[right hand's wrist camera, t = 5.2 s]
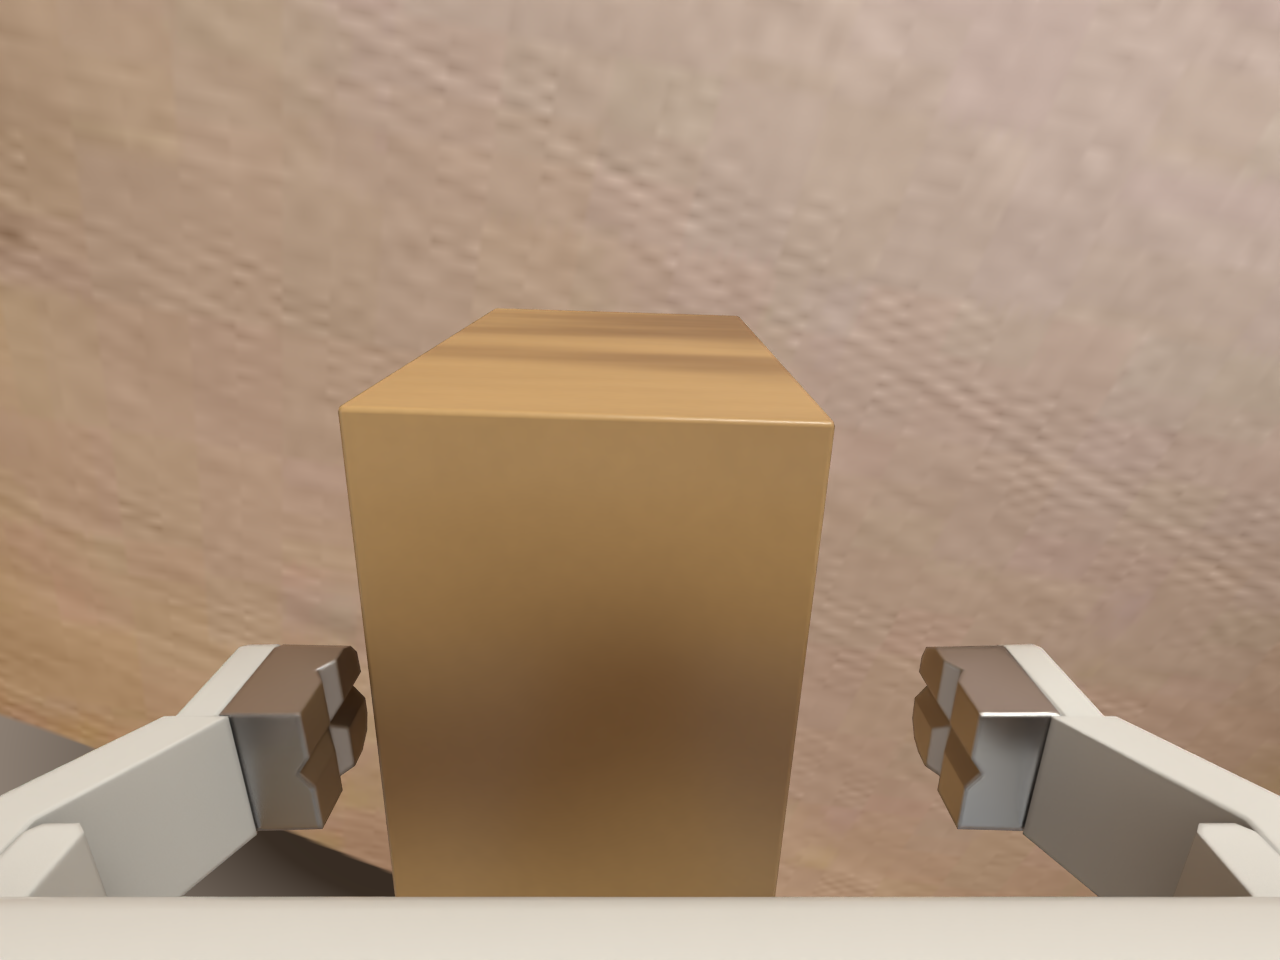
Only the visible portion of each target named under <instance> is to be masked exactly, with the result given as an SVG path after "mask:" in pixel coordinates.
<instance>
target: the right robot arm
mask: <svg viewBox="0 0 1280 960" xmlns="http://www.w3.org/2000/svg"><path fill="white" fill-rule="evenodd" d="M360 672H361V670H360V665H359V660H358V655H357V652H356V651H355V650H354V649H353V648H352V647H351V646H330V645H279V644H249V645H245V646H241V647H239V648H238V649H237V650H236V651H235V652H234V653H233V654H232V655H231V656H230V658H229V659H228V660H227V661H226V662H225V663H224V664H223V665H222V666H221V667H220V668H219V670H218V671H217V672H216V673H215V674H214V675H213V676H212V677H211V678H210V679H209V680H208V682H207V683H206V684H205V685H204V686H203V687H202V688H201V689H200V690H199V691H198V692H197V694H196V695H195V696H194V697H193V698H192V699H191V700H190V701H189V702H188V703H187V704H186V706H185V707H184V708H183V709H182V710H181V711H180V712H179V713H178V714H177V715H176V716H163V717H161V718H159V719H157V720H155V721H153V722H151V723H149V724H147V725H145V726H143V727H141V728H139V729H137V730H135V731H132V732H130V733H128V734H126V735H124V736H122V737H120V738H118V739H116V740H114V741H112V742H110V743H108V744H106V745H104V746H102V747H100V748H97V749H95V750H93V751H91V752H89V753H87V754H85V755H83V756H81V757H79V758H77V759H75V760H73V761H71V762H69V763H67V764H65V765H63V766H60V767H58V768H56V769H54V770H52V771H50V772H48V773H46V774H44V775H42V776H40V777H38V778H36V779H34V780H32V781H30V782H28V783H25V784H23V785H21V786H19V787H17V788H15V789H13V790H11V791H9V792H7V793H5V794H3V795H1V796H0V960H1280V796H1279V795H1277V794H1275V793H1273V792H1271V791H1269V790H1266V789H1264V788H1262V787H1260V786H1258V785H1256V784H1254V783H1252V782H1250V781H1248V780H1246V779H1244V778H1242V777H1240V776H1238V775H1236V774H1234V773H1232V772H1230V771H1227V770H1225V769H1223V768H1221V767H1219V766H1217V765H1215V764H1213V763H1211V762H1209V761H1207V760H1205V759H1203V758H1201V757H1199V756H1197V755H1195V754H1193V753H1191V752H1188V751H1186V750H1184V749H1182V748H1180V747H1178V746H1176V745H1174V744H1172V743H1170V742H1168V741H1166V740H1164V739H1162V738H1160V737H1158V736H1156V735H1154V734H1152V733H1149V732H1147V731H1145V730H1143V729H1141V728H1139V727H1137V726H1135V725H1133V724H1131V723H1129V722H1127V721H1125V720H1123V719H1121V718H1119V717H1117V716H1104V715H1103V714H1102V713H1101V712H1100V711H1099V710H1098V709H1097V708H1096V707H1095V706H1094V704H1093V703H1092V702H1091V701H1090V700H1089V699H1088V698H1087V697H1086V696H1085V695H1084V694H1083V692H1082V691H1081V690H1080V689H1079V688H1078V687H1077V686H1076V685H1075V684H1074V683H1073V682H1072V680H1071V679H1070V678H1069V677H1068V676H1067V675H1066V674H1065V673H1064V672H1063V671H1062V669H1061V668H1060V667H1059V666H1058V665H1057V664H1056V663H1055V662H1054V661H1053V660H1052V659H1051V657H1050V656H1049V655H1048V654H1047V653H1046V652H1045V651H1044V650H1043V649H1042V648H1041V647H1039V646H1036V645H1034V644H1014V645H997V646H952V647H926V649H925V651H924V653H923V655H922V658H921V664H920V669H919V672H920V674H921V676H922V678H923V679H924V681H925V683H926V684H927V686H926V687H925V688H924V689H923V690H922V691H921V692H920V693H919V694H918V695H917V696H916V697H915V701H914V709H913V717H912V720H913V731H914V739H915V742H916V746H917V749H918V752H919V754H920V756H921V758H922V760H923V763H924V765H925V766H926V767H928V768H929V769H931V770H932V771H933V772H935V773H936V774H938V775H939V776H940V778H939V784H938V792H939V794H940V796H941V798H942V800H943V802H944V804H945V806H946V808H947V810H948V811H949V813H950V815H951V817H952V819H953V821H954V823H955V825H956V827H957V829H976V830H1012V831H1023V834H1024V835H1025V836H1026V837H1027V838H1029V839H1030V840H1031V841H1032V842H1033V843H1035V844H1036V845H1037V846H1038V847H1039V848H1041V849H1042V850H1043V851H1044V852H1045V853H1047V854H1048V855H1049V856H1050V857H1051V858H1053V859H1054V860H1055V861H1056V862H1058V863H1059V864H1060V865H1061V866H1062V867H1064V868H1065V869H1066V870H1067V871H1068V872H1070V873H1071V874H1072V875H1073V876H1074V877H1076V878H1077V879H1078V880H1079V881H1080V882H1082V883H1083V884H1084V885H1085V886H1087V887H1088V888H1089V889H1090V890H1091V891H1093V892H1094V893H1095V894H1096V895H1097V896H1099V897H182V896H183V895H184V894H185V893H186V892H188V891H189V890H190V889H191V888H192V887H194V886H195V885H196V884H197V883H199V882H200V881H201V880H202V879H203V878H205V877H206V876H207V875H208V874H209V873H211V872H212V871H213V870H214V869H215V868H217V867H218V866H219V865H220V864H222V863H223V862H224V861H225V860H226V859H227V858H229V857H230V856H231V855H232V854H234V853H235V852H236V851H237V850H238V849H240V848H241V847H242V846H243V845H245V844H246V843H247V842H248V841H249V840H251V839H252V838H253V837H254V836H255V835H257V832H256V831H268V830H303V829H323V827H324V825H325V823H326V821H327V819H328V817H329V815H330V814H331V812H332V810H333V808H334V806H335V804H336V802H337V800H338V798H339V796H340V794H341V792H342V784H341V778H340V776H341V775H342V774H344V773H345V772H347V771H348V770H349V769H351V768H352V767H354V766H355V765H356V762H357V760H358V758H359V756H360V754H361V752H362V750H363V746H364V741H365V737H366V732H367V707H366V700H365V697H364V696H363V695H362V694H361V693H360V692H359V691H358V690H357V689H356V688H355V687H354V686H353V684H354V683H355V681H356V679H357V678H358V676H359V674H360Z"/></svg>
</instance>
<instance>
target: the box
mask: <svg viewBox="0 0 1280 960" xmlns="http://www.w3.org/2000/svg"><path fill="white" fill-rule="evenodd" d="M338 414H339V422H340V431H341V439H342V448H343V456H344V465H345V473H346V482H347V490H348V499H349V507H350V516H351V524H352V533H353V541H354V550H355V558H356V567H357V575H358V584H359V592H360V601H361V609H362V618H363V626H364V635H365V643H366V652H367V660H368V669H369V677H370V686H371V694H372V703H373V711H374V720H375V728H376V737H377V746H378V754H379V763H380V771H381V780H382V788H383V797H384V805H385V814H386V822H387V831H388V839H389V848H390V856H391V865H392V873H393V882H394V890H395V897H775V893H776V885H777V877H778V869H779V861H780V854H781V846H782V838H783V830H784V822H785V814H786V806H787V799H788V791H789V783H790V775H791V767H792V759H793V751H794V743H795V736H796V728H797V720H798V712H799V704H800V696H801V688H802V681H803V673H804V665H805V657H806V649H807V641H808V633H809V626H810V618H811V610H812V602H813V594H814V586H815V578H816V571H817V563H818V555H819V547H820V539H821V531H822V523H823V515H824V508H825V500H826V492H827V484H828V476H829V468H830V460H831V453H832V445H833V437H834V429H835V426H834V422H833V421H832V420H831V419H830V418H829V416H828V415H827V414H826V413H825V412H824V411H823V410H822V409H821V408H820V406H819V405H818V404H817V403H816V402H815V401H814V400H813V399H812V398H811V396H810V395H809V394H808V393H807V392H806V391H805V390H804V389H803V388H802V386H801V385H800V384H799V383H798V382H797V381H796V380H795V379H794V378H793V376H792V375H791V374H790V373H789V372H788V371H787V370H786V369H785V367H784V366H783V365H782V364H781V363H780V362H779V361H778V360H777V359H776V357H775V356H774V355H773V354H772V353H771V352H770V351H769V350H768V349H767V347H766V346H765V345H764V344H763V343H762V342H761V341H760V340H759V339H758V337H757V336H756V335H755V334H754V333H753V332H752V331H751V330H750V329H749V327H748V326H747V325H746V324H745V323H744V322H743V321H742V320H741V319H740V317H738V316H721V315H690V314H658V313H626V312H594V311H562V310H530V309H498V308H497V309H494V310H493V311H491V312H489V313H488V314H486V315H485V316H483V317H482V318H480V319H478V320H477V321H475V322H474V323H472V324H470V325H469V326H467V327H466V328H464V329H462V330H461V331H459V332H458V333H456V334H454V335H453V336H451V337H450V338H448V339H447V340H445V341H443V342H442V343H440V344H439V345H437V346H435V347H434V348H432V349H431V350H429V351H427V352H426V353H424V354H423V355H421V356H419V357H418V358H416V359H415V360H413V361H411V362H410V363H408V364H407V365H405V366H404V367H402V368H400V369H399V370H397V371H396V372H394V373H392V374H391V375H389V376H388V377H386V378H384V379H383V380H381V381H380V382H378V383H376V384H375V385H373V386H372V387H370V388H369V389H367V390H365V391H364V392H362V393H361V394H359V395H357V396H356V397H354V398H353V399H351V400H349V401H348V402H346V403H345V404H343V405H341V406H340V407H339V411H338Z"/></svg>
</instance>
